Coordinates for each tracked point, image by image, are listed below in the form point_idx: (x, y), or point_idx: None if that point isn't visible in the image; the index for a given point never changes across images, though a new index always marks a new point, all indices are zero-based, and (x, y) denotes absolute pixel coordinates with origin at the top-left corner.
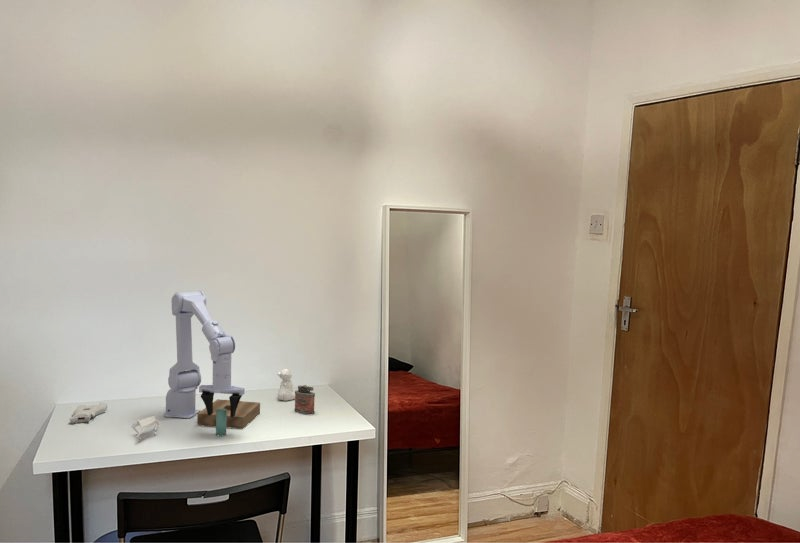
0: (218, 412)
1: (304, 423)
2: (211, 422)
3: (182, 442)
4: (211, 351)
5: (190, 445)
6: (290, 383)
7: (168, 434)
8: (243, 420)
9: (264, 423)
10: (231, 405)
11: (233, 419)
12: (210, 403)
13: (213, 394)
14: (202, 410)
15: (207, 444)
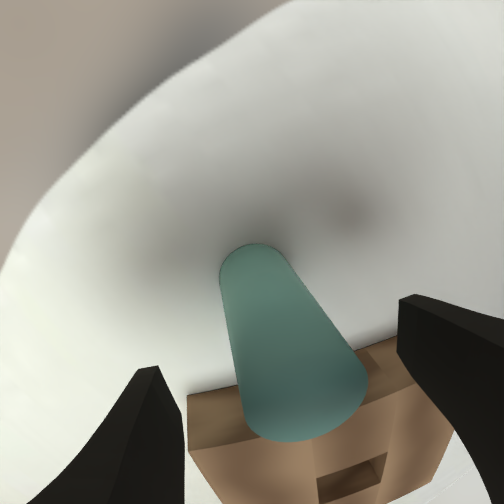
0: (311, 343)
1: (39, 485)
2: (386, 356)
3: (390, 58)
4: None
5: (319, 24)
6: None
7: (495, 151)
8: (189, 436)
9: None
10: (97, 473)
11: None
12: (475, 392)
13: (495, 496)
14: None
15: (224, 73)
